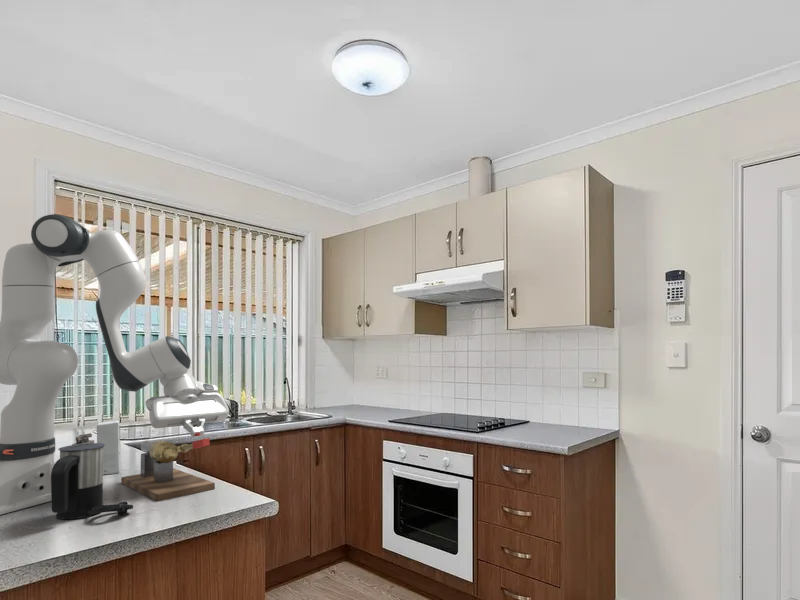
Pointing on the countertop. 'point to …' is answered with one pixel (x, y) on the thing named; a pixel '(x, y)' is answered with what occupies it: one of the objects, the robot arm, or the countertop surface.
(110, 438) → the skincare box
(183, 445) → the valve lever
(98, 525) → the countertop surface
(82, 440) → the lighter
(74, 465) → the milk frother
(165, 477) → the valve rig
